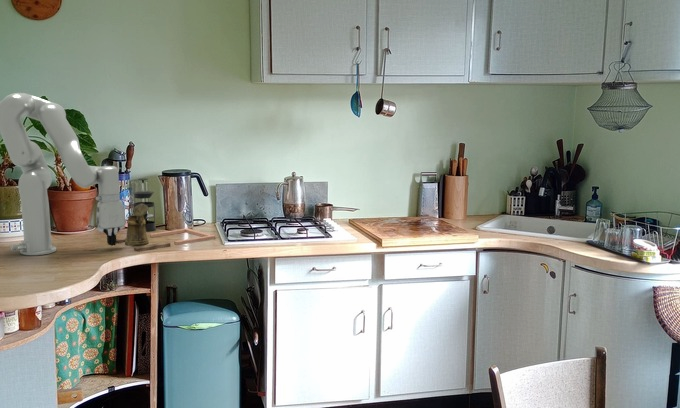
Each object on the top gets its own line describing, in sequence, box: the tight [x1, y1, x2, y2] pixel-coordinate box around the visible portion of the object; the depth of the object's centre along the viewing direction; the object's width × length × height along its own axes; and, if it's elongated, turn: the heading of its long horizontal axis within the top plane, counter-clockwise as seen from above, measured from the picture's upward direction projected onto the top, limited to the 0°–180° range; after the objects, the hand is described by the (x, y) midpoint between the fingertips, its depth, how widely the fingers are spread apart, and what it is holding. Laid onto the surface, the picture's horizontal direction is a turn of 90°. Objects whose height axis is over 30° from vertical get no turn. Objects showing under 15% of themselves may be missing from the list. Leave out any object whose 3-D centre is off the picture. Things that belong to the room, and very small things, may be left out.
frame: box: [149, 227, 216, 246], centre depth 288 cm, size 18×22×1 cm
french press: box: [128, 177, 157, 233], centre depth 302 cm, size 12×9×23 cm
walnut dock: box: [116, 237, 171, 253], centre depth 275 cm, size 14×22×1 cm, turn 44°
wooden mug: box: [124, 203, 149, 247], centre depth 273 cm, size 9×14×18 cm, turn 33°
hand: (112, 244), depth 266 cm, fingers closed
